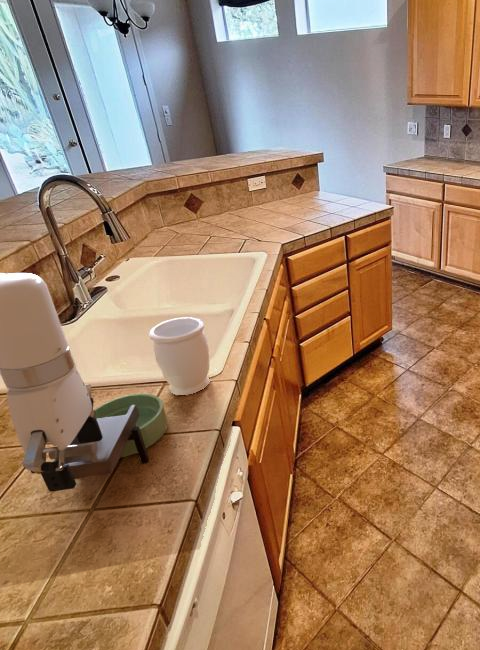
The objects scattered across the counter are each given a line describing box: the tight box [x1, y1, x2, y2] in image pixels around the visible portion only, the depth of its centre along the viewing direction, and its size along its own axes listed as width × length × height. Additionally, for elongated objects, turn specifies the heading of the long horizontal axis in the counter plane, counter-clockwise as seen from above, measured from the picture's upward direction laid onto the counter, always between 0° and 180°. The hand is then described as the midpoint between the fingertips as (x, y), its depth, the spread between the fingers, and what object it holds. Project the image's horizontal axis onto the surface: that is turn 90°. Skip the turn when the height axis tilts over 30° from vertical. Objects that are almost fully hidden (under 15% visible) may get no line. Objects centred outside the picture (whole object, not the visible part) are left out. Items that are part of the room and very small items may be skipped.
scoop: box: [48, 405, 139, 480], centre depth 70 cm, size 8×14×6 cm, turn 13°
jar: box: [148, 316, 211, 396], centre depth 94 cm, size 11×10×15 cm
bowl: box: [93, 392, 169, 459], centre depth 81 cm, size 13×13×5 cm
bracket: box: [128, 426, 150, 465], centre depth 74 cm, size 11×1×8 cm, turn 103°
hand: (78, 463), depth 64 cm, fingers open, 9 cm apart
